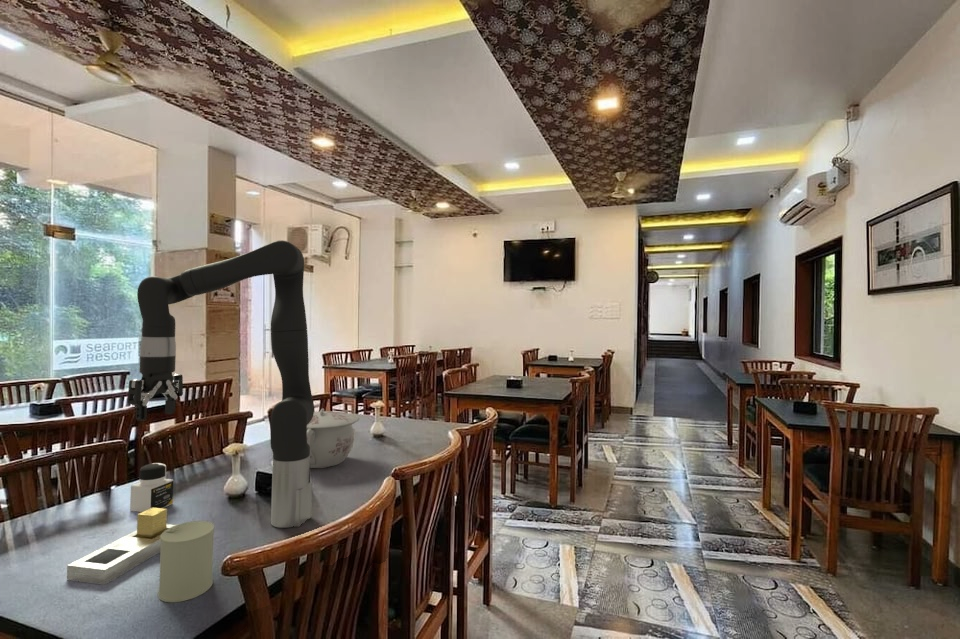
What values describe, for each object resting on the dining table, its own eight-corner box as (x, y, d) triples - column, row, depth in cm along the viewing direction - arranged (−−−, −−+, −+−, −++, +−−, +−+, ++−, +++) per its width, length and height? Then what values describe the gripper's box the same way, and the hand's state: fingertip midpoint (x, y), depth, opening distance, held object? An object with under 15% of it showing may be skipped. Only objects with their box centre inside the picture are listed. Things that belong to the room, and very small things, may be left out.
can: (175, 575, 94) (177, 518, 95) (221, 575, 95) (223, 518, 95) (146, 603, 85) (148, 539, 85) (198, 602, 86) (199, 539, 86)
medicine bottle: (150, 514, 123) (152, 470, 123) (129, 511, 125) (130, 467, 125) (173, 503, 130) (174, 462, 130) (152, 501, 132) (154, 460, 132)
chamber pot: (329, 448, 190) (330, 399, 190) (373, 462, 174) (374, 408, 174) (264, 464, 167) (266, 408, 167) (308, 481, 151) (310, 419, 151)
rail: (183, 538, 110) (183, 525, 110) (104, 584, 91) (105, 569, 91) (151, 534, 112) (151, 522, 112) (66, 580, 92) (67, 565, 92)
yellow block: (165, 542, 108) (167, 508, 108) (151, 550, 104) (152, 515, 104) (151, 540, 109) (152, 507, 109) (136, 548, 105) (137, 514, 105)
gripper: (146, 356, 109) (144, 424, 109) (192, 353, 123) (190, 412, 123) (119, 355, 110) (117, 422, 110) (168, 352, 124) (166, 411, 124)
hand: (156, 417), depth 116 cm, fingers open, 8 cm apart
